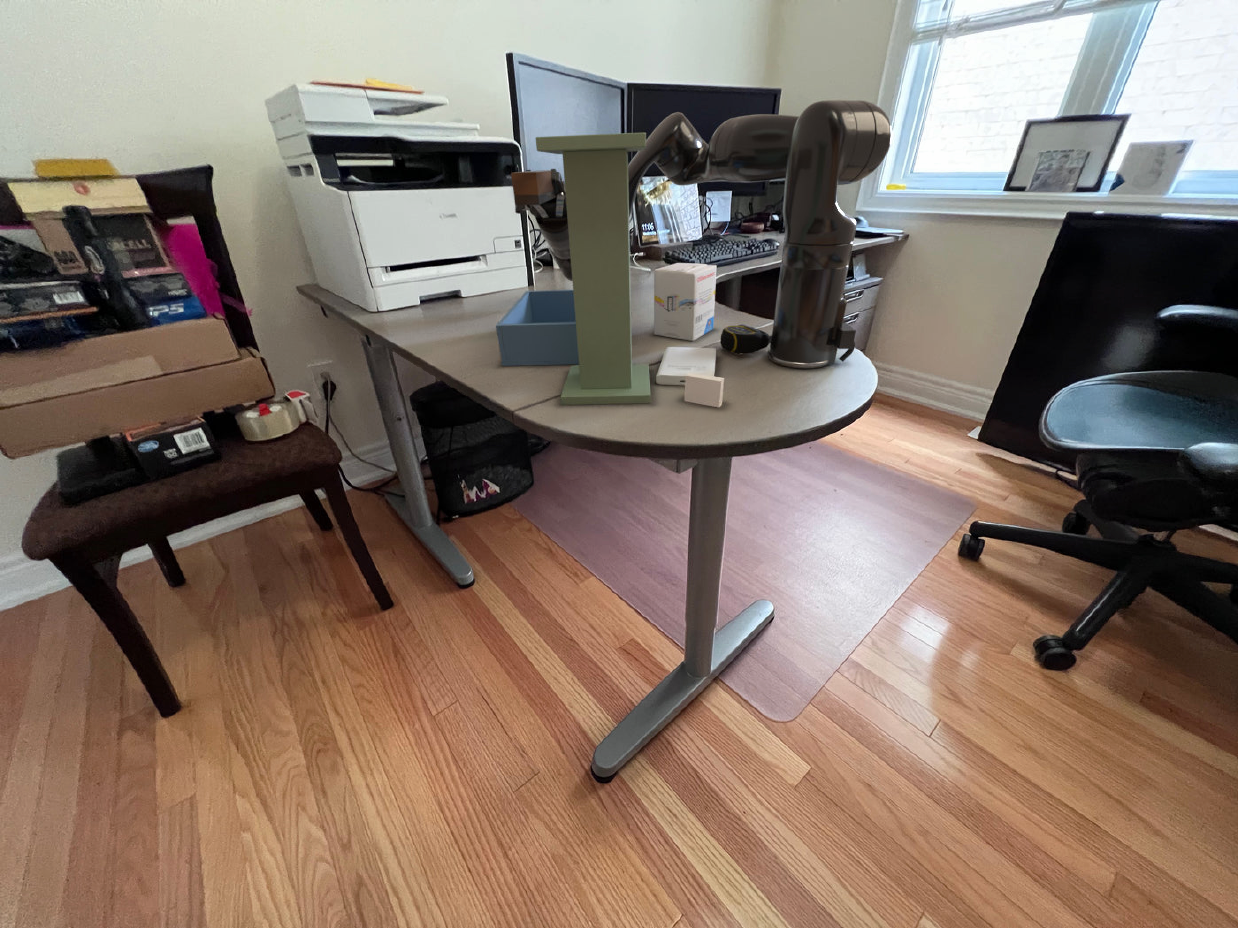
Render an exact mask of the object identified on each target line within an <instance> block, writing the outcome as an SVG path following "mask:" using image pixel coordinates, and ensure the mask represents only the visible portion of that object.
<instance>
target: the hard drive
mask: <svg viewBox="0 0 1238 928" xmlns="http://www.w3.org/2000/svg"><path fill="white" fill-rule="evenodd" d="M716 360H717V349H716V348H714V347H687V346H686V347H684V346H683V347H682V346H681V347H680V346H668V347H667V346H666V348H665V351H664V353H663V356H662V359H661V362H660V364H659V367H658V370H657V373H656V378H655V383H656V384H657V385H661V386H663V385H664V386H684V387H685V376H686V375H687V374H688V373H695V374H701V375H708V376H714V377H715V371H716V362H717V361H716Z"/></svg>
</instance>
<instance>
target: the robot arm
mask: <svg viewBox="0 0 1238 928" xmlns="http://www.w3.org/2000/svg"><path fill="white" fill-rule="evenodd" d="M892 139H893V130H892V125H891V121H890V118H889V116H888V115H887V113H886V112H885V110H884V109H882V108H881V107H880V106H878V105H876V104H875V103H873V102H869V101H867V100H849V99H848V100H845V99H843V100H841V99H839V100H838V99H836V100H835V99H834V100H832V99H828V100H820V101H819V100H818V101H815V102H813V103H811V104H810V105H808V106H806V108H805V109H804V110H803V111H802V112H801V113H800V115H787V114H772V113H771V114H769V113H768V114H767V113H766V114H765V113H764V114H763V113H762V114H761V113H760V114H759V113H758V114H747V115H743V116H737V117H736V116H735V117H732V118H729V119H727V120H725V121H724V122H722V123H721V124H720V125H719V126H718V127H717V128H716V130H715V131H714V133H713V134H712V136H711V138H710V140H709V142H708V143H706V141H705V140H704V139H703V138H702V136H701V135H700V133H699V132H698V131H697V130H696V128H695V127H694V126H693V124H692V123H691V122H690V120H689V119H688V118H687V117H686V116H685V115H684V114H683V113H682V112H679V111H677V112H674V113H671V114H669V115H668V116H667V117H665V118H664V119H663V120H662V121H661V122H660V123H659V124H658V125H657V126H656V127H655V128H654V130H653V131H652V132H651V134H650V135H649V136H648V138H646V147H645V149H644V151H636V154H634V156H633V158H632V159H631V160H630V162H628V187H629V218H630V217H631V214H632V211H633V207H634V204H635V200H636V196H637V192H638V189H639V186H640V183H641V181H642V179H643V177H644V175H645V174H646V173H647V172H648V170H649V168H650V167H651V166H652V165H653V164H655V165H656V166H657V167H658V169H659V170H660V171H661V172H662V174H663V175H664V176H665V177H666V178H667V179H668V180H669V181H670V182H671V183H672V184H673V185H676V186H681V187H682V186H690V185H695V184H701V183H708V182H709V183H715V182H728V183H741V184H743V183H744V184H749V183H751V184H752V183H760V182H761V183H762V182H771V181H776V180H782V179H784V180H785V181H784V190H783V191H784V192H783V201H782V202H783V204H782V219H783V224H784V225H783V226H784V238H783V246H782V253H781V260H780V261H781V262H780V263H781V264H780V269H779V277H778V284H777V293H776V298H775V299H776V300H775V308H774V316H773V321H772V323H773V324H772V331H771V335H769V350H768V359H769V360H770V361H771V362H773V363H775V364H778V365H780V366H784V367H787V368H796V369H814V368H815V369H816V368H821V367H824V366H828V365H835V363H836V358H837V353H838V350H846V351H845V352H844V353H843V354H842V355H841V356H840V357H838V360H839V361H841V362H844V361H845V360H847V359H848V358H849V357H850V356H851V355H852V354H853V352H854V351H855V348H856V341H855V337H856V334H857V330H856V329H855V328H854V327H852V326H851V325H849V324H848V323H847V322H844V319H845V315H846V309H847V306H848V305H847V304H848V300H847V299H845V298H844V297H843V296H844V292H845V287H846V282H847V276H848V271H849V266H850V262H851V261H850V260H851V256H852V251H853V246H854V241H855V237H856V231H857V221H856V219H855V218H854V217H853V216H852V215H849V214H847V213H845V212H844V211H843V210H842V209H841V208H840V206H839V204H838V202H837V201H838V199H837V196H838V186H845V185H852V184H854V183H856V182H859V181H861V180H863V179H865V178H867V177H868V176H870V175H871V174H872V173H874V172H875V170H876V169H877V168H878V167H879V166H880V165H881V164H882V162H883V161H884V160H885V158H886V157H887V155H888V152H889V151H890V148H891V145H892ZM550 170H551V181H552V185H553V188H554V191H555V193H557V197H556V198H553V199H551V200H549V201H546V202H544V203H542V204H539V205H515V204H514V212H515V214H520V215H521V214H523V212H524V211H529V213H530V214H531V215H532V216H534V218H535V221H536V224H537V226H538V228H539V231H540V233H541V235H542V237H543V239H544V240H545V242H546V243H547V246H548V248H547V249H548V251H549V253H550V255H551V257H552V258H553V260H554V262H555V263H556V265H557V266H558V268H559V269H560V271H561V273H562V275H563V276H564V277H565V278H566V279H567V280H568V281H570V282H573V281H572V268H571V256H570V243H569V230H568V218H567V205H566V192H565V180H563V178H562V174H561V172H560V171H557V172H556V170H557V169H556V168H550ZM526 171H532V170H531V169H526V170H525V172H526Z"/></svg>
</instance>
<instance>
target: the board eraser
mask: <svg viewBox="0 0 1238 928" xmlns="http://www.w3.org/2000/svg"><path fill="white" fill-rule="evenodd" d="M556 172H558V170H557V169H556ZM510 176H511V183H512V184H511V185H512V191H513V199H514V206H515V205H539V204H542V203H544V202H546V201H549V200H551V199H553V198H556V197H557V193H555V191H554V188H553V185H552V181H551V169H543V170H542V169H541V170H540V169H539V170H531V171H526V170H525V171H517V172H511V173H510Z"/></svg>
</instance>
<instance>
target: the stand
mask: <svg viewBox="0 0 1238 928" xmlns="http://www.w3.org/2000/svg"><path fill="white" fill-rule="evenodd" d="M646 140H647V132H627V133H624V132H623V133H622V132H621V133H602V134H576V135H554V136H553V135H552V136H551V135H550V136H549V135H548V136H536V137H535V146H536V152H540V153H545V154H546V153H548V154H554V155H562V166H563V167H562V168H563V178H564V183H565V192H566V205H567V218H568V230H569V243H570V256H571V268H572V281H571V282H572V290H573V294H574V306H575V319H576V332H577V345H578V357H579V364H576V365H570V367H569V370H568V373H567V376H566V380H565V382H564V384H563V385H564V386H563V389H562V392H561V395H560V404H561V405H562V406H570V405H571V406H573V405H574V406H575V405H621V404H622V405H623V404H624V405H626V404H627V405H628V404H630V405H633V404H634V405H635V404H651V382H650V365H649V363H635V364H634V363H633V348H632V346H633V345H632V344H633V342H632V339H633V338H632V297H631V296H632V295H631V294H632V293H631V291H632V289H631V288H632V287H631V243H630V242H631V241H630V217H629V187H628V165H629V152H638V151H644V149H645V147H646Z"/></svg>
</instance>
